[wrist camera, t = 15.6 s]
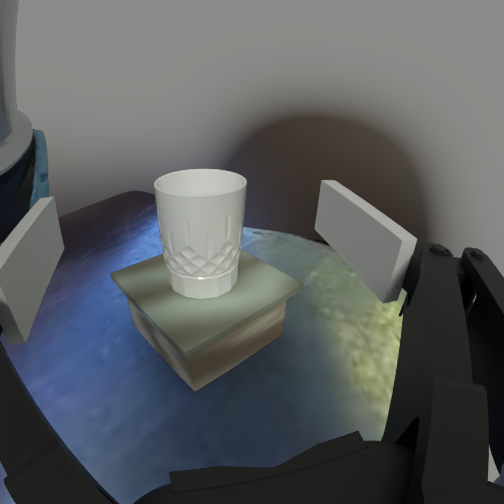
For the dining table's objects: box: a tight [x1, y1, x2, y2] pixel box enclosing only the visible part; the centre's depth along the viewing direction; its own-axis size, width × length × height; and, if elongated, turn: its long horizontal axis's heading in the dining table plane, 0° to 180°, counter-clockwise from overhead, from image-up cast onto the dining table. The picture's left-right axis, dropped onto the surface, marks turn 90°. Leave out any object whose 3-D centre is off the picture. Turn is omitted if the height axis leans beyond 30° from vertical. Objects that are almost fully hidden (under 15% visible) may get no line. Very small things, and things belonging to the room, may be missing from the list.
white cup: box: [154, 169, 247, 299], centre depth 29 cm, size 8×8×10 cm
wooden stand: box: [111, 250, 303, 392], centre depth 33 cm, size 14×14×7 cm
